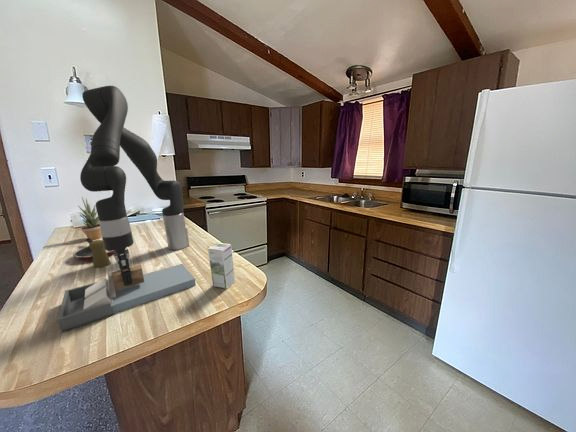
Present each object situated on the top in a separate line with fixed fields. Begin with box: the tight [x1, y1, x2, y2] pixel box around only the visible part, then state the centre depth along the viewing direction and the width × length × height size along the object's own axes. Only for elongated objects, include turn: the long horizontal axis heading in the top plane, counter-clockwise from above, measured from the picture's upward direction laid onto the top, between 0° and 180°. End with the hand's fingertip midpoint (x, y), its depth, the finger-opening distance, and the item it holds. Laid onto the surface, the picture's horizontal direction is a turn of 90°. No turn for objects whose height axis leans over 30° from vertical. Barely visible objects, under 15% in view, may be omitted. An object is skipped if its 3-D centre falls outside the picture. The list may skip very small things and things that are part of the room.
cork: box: [88, 239, 112, 269], centre depth 102 cm, size 6×6×11 cm
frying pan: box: [72, 237, 116, 261], centre depth 119 cm, size 19×32×4 cm, turn 50°
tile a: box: [83, 287, 113, 310], centre depth 71 cm, size 6×6×3 cm
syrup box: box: [207, 242, 236, 290], centre depth 83 cm, size 6×6×14 cm
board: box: [111, 263, 196, 314], centre depth 83 cm, size 24×16×2 cm, turn 128°
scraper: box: [107, 264, 144, 300], centre depth 78 cm, size 9×14×5 cm, turn 37°
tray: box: [57, 278, 114, 334], centre depth 73 cm, size 11×18×4 cm, turn 38°
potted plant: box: [78, 196, 102, 241], centre depth 135 cm, size 10×10×25 cm
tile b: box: [85, 277, 109, 299], centre depth 77 cm, size 6×6×3 cm
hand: (127, 281), depth 78 cm, fingers closed on scraper, 3 cm apart
